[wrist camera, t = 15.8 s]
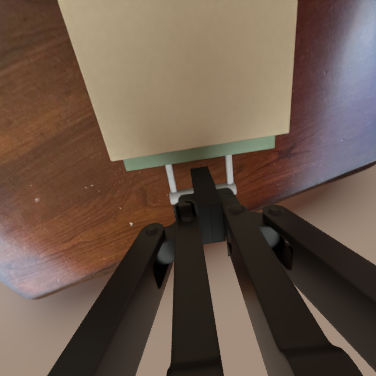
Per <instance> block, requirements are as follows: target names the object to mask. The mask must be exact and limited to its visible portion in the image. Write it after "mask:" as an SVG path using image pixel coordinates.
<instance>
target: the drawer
mask: <svg viewBox="0 0 376 376" xmlns="http://www.w3.org/2000/svg"><path fill="white" fill-rule="evenodd" d="M271 148H275V135H273V136H267V137H261V138H254V139H248V140H242V141H235V142H229V143H223V144H217V145H210V146H204V147H198V148H192V149H185V150H179V151H173V152H166V153H160V154H154V155H148V156H141V157H135V158H129V159H123V162H124V165H125V168H126V171H131V170H137V169H144V168H150V167H157V166H163V165H165V166H166V171H167V175H168V180H169V185H170V190H171V191H170V201H171V204H176V203H177V202H178V198H179V197H180V196H181V195H184V194H191V193H194V190H193V188H190V189H183V190H177V188H176V183H175V178H174V173H173V168H172V164H176V163H182V162H188V161H195V160H201V159H207V158H214V157H220V156H225V167H226V181H227V183H223V184H216V185H215V186H216V189H220V188H227V187H228V188H230V189H231V190H232V191H233V192H234V194H235V195H236V185H235V183H234V182H233V170H232V155H233V154H239V153H246V152H252V151H258V150H265V149H271Z"/></svg>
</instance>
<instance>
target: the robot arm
mask: <svg viewBox="0 0 376 376" xmlns="http://www.w3.org/2000/svg"><path fill="white" fill-rule="evenodd" d="M190 170H191V177H192V183H193V190H194V193H191V194H184V195H181V196H180V197H179V198H178V202H177V203H176V204H175V205H174V206H173V209H174V213H175V218H176V221H175V222H174V223H173V224H172V225H169V226H167V227H163V225H162V224H159V223H154V224H149V225H147V226H146V227H144V228H143V229H142V230H141V232H140V233H139V235H138V236H137V238H136V239H135V241H134V242H133V244H132V245H131V247H130V249H129V250H128V252H127V253H126V255H125V256H124V258H123V259H122V261H121V262H120V264H119V266H118V267H117V269H116V270H115V272H114V273H113V275H112V277H111V278H110V280H109V281H108V283H107V285H106V286H105V287H104V289H103V290H102V292H101V293H100V295H99V297H98V298H97V300H96V301H95V303H94V304H93V306H92V307H91V309H90V310H89V312H88V314H87V315H86V317H85V318H84V320H83V321H82V323H81V324H80V326H79V328H78V329H77V331H76V332H75V334H74V335H73V337H72V339H71V340H70V342H69V343H68V344H67V346H66V348H65V349H64V351H63V352H62V354H61V355H60V357H59V358H58V360H57V361H56V363H55V365H54V366H53V368H52V369H51V371H50V372H49V374H48V375H47V376H135V375H136V372H137V369H138V366H139V363H140V360H141V357H142V355H143V351H144V349H145V346H146V343H147V340H148V337H149V334H150V331H151V328H152V325H153V322H154V319H155V316H156V313H157V310H158V307H159V304H160V301H161V298H162V295H163V292H164V289H165V286H166V283H167V280H168V277H169V274H170V271H171V268H172V264H173V262H174V289H173V319H172V350H171V364H170V367H169V369H168V370H167V376H224V374H223V367H222V361H221V355H220V349H219V343H218V337H217V331H216V325H215V318H214V312H213V306H212V300H211V293H210V287H209V281H208V274H207V268H206V262H205V256H204V250H203V244H209V243H215V242H222V241H226V239H227V249H228V256H230V257H231V260H232V263H233V266H234V269H235V272H236V275H237V279H238V282H239V285H240V288H241V291H242V294H243V298H244V301H245V304H246V307H247V310H248V313H249V317H250V320H251V323H252V326H253V329H254V332H255V335H256V339H257V341H258V345H259V348H260V351H261V354H262V358H263V361H264V364H265V367H266V370H267V373H268V376H363V375H362V373H361V372H360V370H359V369H358V367H357V366H356V364H355V363H354V362H353V360H352V359H351V358H350V357H349V355H348V354H347V353H346V352H345V351H344V350H343V349H341V348H339V347H336V346H334V345H332V344H331V343H330V342H329V341H328V339H327V338H326V336H325V335H324V333H323V331H322V330H321V328H320V326H319V325H318V323H317V322H316V320H315V318H314V317H313V315H312V313H311V312H310V310H309V309H308V307H307V305H306V304H305V302H304V301H303V299H302V297H301V295H300V294H299V292H298V291H297V289H296V287H297V288H298V289H299V290H300V291H301V292H302V293H303V294H304V295H305V296H306V297H307V299H308V300H309V301H310V302H311V303H312V304H313V305H314V306H315V307H316V308H317V309H318V310H319V311H320V313H321V314H322V315H323V316H324V317H325V318H326V319H327V320H328V321H329V322H330V323H331V324H332V325H333V326H334V328H335V329H336V330H337V331H338V332H339V333H340V334H341V335H342V336H343V337H344V338H345V339H346V340H347V342H348V343H349V344H350V345H351V346H352V347H353V348H354V349H355V350H356V351H357V352H358V353H359V354H360V355H361V357H362V358H363V359H364V360H365V361H366V362H367V363H368V364H369V365H370V366H371V367H372V368H373V369H374V371H375V372H376V265H374V264H373V263H371V262H369V261H368V260H366V259H365V258H363V257H362V256H360V255H359V254H357V253H355V252H354V251H352V250H351V249H349V248H347V247H346V246H344V245H343V244H341V243H340V242H338V241H337V240H335V239H334V238H332V237H330V236H329V235H327V234H326V233H324V232H322V231H321V230H319V229H318V228H316V227H315V226H313V225H312V224H310V223H308V222H307V221H305V220H304V219H302V218H301V217H299V216H297V215H296V214H294V213H293V212H291V211H290V210H288V209H287V208H284V207H282V206H278V205H269V206H266V207H264V208H263V213H259V212H250V211H248V209H247V208H246V207H245V206H243V205H241V204H240V203H239V201H238V199H237V198H236V196H235V194H234V192H233V191H232V190H231V189H230V188H228V187H227V188H220V189H216V186H215V184H214V181H213V179H212V177H211V174H210V172H209V169H208V167H200V168H194V169H190ZM225 236H226V238H225ZM294 285H295V286H296V287H295V286H294Z"/></svg>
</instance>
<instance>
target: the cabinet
mask: <svg viewBox="0 0 376 376" xmlns="http://www.w3.org/2000/svg"><path fill="white" fill-rule="evenodd" d="M58 3H59V6H60V9H61V12H62V15H63V18H64V21H65V24H66V27H67V30H68V33H69V36H70V39H71V42H72V45H73V48H74V51H75V54H76V57H77V60H78V63H79V66H80V69H81V72H82V75H83V78H84V81H85V84H86V87H87V90H88V93H89V96H90V99H91V102H92V105H93V108H94V111H95V114H96V117H97V120H98V123H99V126H100V129H101V132H102V135H103V138H104V141H105V144H106V147H107V150H108V153H109V156H110V159H111V161H116V160H123V159H129V158H135V157H141V156H148V155H154V154H160V153H166V152H173V151H179V150H185V149H192V148H198V147H204V146H210V145H217V144H223V143H229V142H235V141H242V140H248V139H254V138H261V137H267V136H273V135H279V134H286V133H289V124H290V109H291V94H292V79H293V64H294V49H295V34H296V19H297V4H298V0H58Z"/></svg>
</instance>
